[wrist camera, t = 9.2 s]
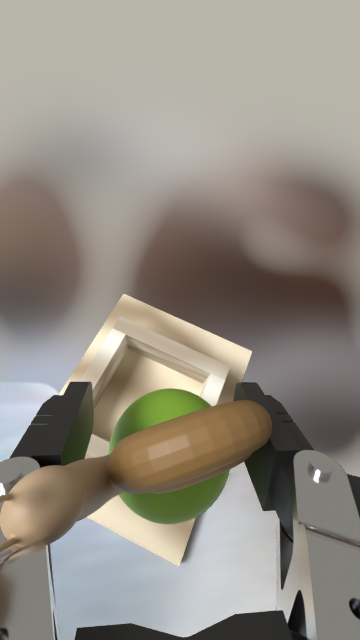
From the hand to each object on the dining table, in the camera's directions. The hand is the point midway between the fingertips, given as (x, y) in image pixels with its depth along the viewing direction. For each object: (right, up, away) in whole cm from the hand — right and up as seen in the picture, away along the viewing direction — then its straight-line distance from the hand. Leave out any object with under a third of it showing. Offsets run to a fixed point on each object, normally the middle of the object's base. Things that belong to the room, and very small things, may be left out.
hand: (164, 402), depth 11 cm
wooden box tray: (-3, -6, +17) cm, 18 cm away
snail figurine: (-1, -4, +4) cm, 6 cm away
